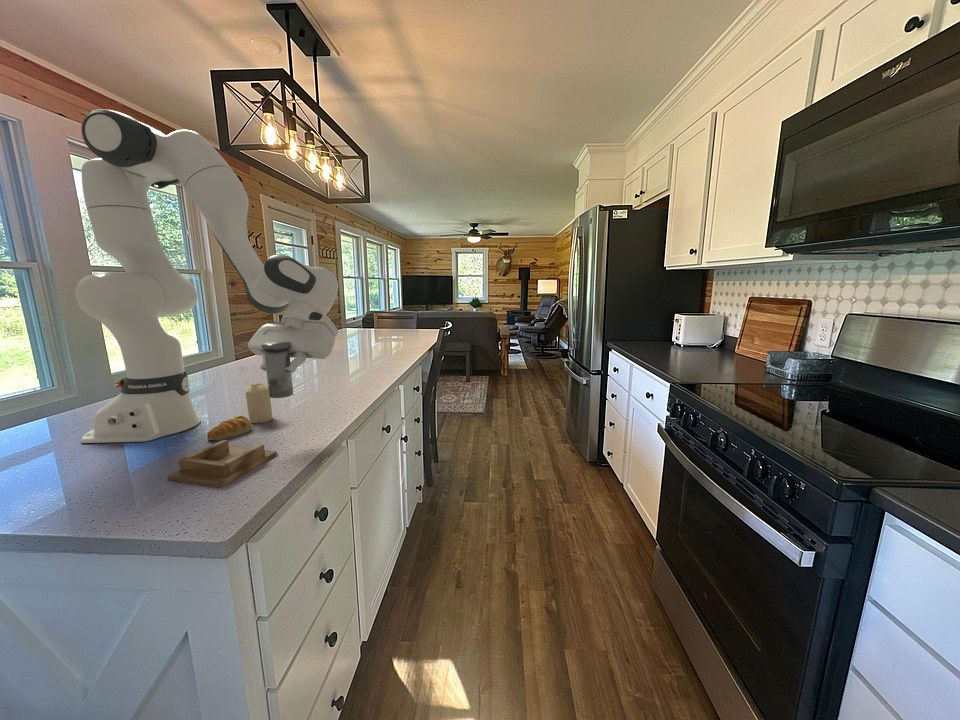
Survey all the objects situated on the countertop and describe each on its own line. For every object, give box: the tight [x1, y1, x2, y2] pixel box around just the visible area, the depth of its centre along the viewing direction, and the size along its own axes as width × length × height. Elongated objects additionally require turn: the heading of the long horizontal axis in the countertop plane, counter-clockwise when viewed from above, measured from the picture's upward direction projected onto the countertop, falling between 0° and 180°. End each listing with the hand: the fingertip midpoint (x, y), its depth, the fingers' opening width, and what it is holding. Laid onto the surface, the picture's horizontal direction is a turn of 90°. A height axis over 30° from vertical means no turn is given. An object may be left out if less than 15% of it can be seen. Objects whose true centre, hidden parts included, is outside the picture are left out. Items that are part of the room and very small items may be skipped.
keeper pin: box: [261, 342, 294, 399], centre depth 86 cm, size 6×6×12 cm
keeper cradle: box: [167, 439, 278, 489], centre depth 77 cm, size 14×12×3 cm
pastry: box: [206, 415, 253, 442], centre depth 93 cm, size 9×7×4 cm
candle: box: [245, 383, 273, 424], centre depth 102 cm, size 6×6×10 cm
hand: (276, 370), depth 85 cm, fingers closed on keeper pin, 5 cm apart
